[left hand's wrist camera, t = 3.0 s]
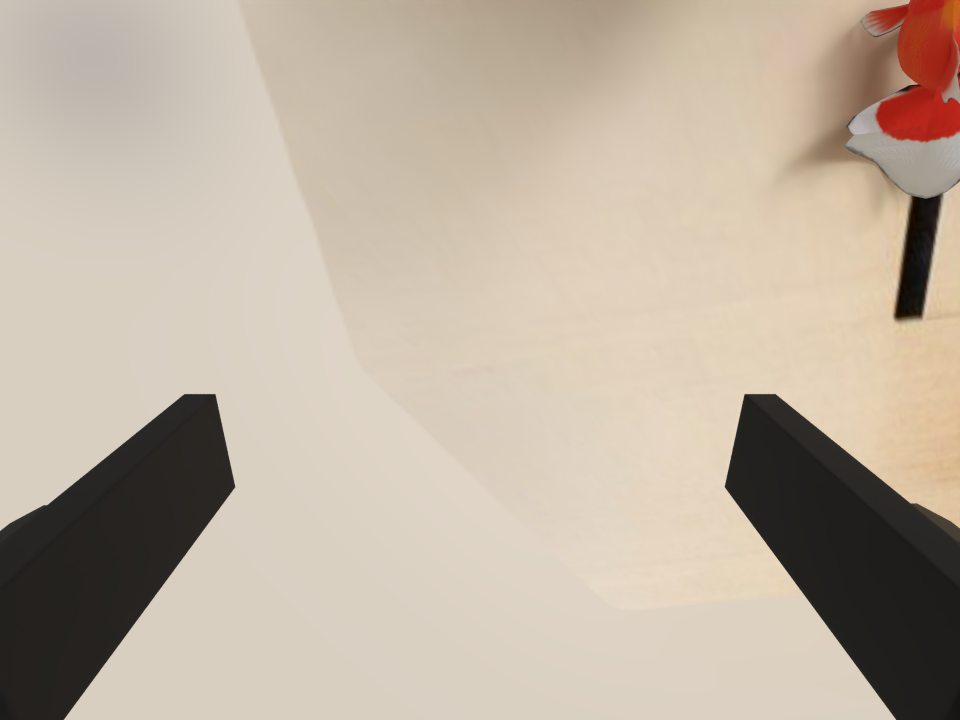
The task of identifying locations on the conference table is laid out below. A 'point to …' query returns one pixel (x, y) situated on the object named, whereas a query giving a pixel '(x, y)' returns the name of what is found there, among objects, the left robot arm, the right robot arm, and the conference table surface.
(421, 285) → the conference table surface
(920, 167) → the fish
